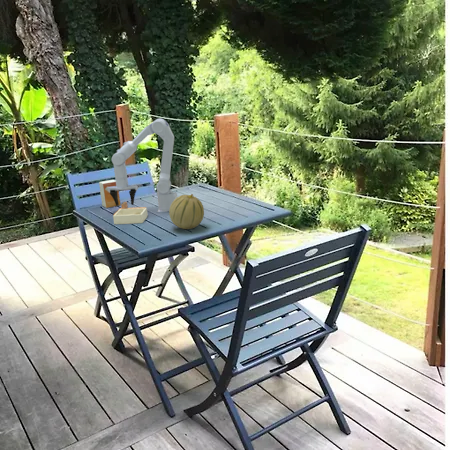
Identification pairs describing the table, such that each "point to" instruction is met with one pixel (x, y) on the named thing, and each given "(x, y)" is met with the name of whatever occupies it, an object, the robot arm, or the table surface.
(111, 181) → the small box
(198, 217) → the cantaloupe
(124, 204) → the lid
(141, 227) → the table surface
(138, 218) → the tub
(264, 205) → the table surface
